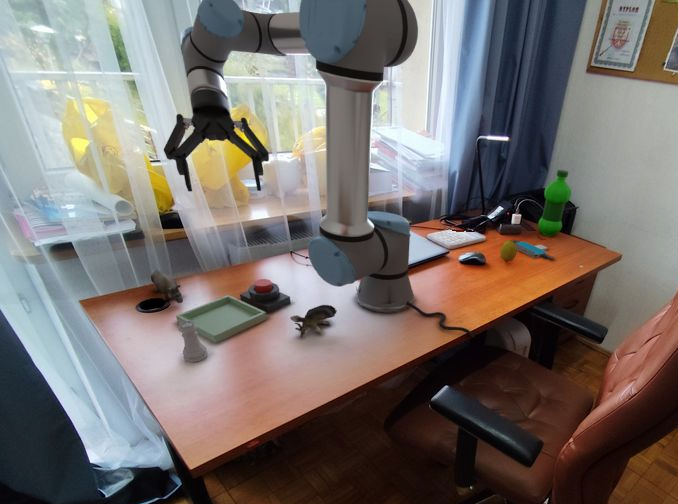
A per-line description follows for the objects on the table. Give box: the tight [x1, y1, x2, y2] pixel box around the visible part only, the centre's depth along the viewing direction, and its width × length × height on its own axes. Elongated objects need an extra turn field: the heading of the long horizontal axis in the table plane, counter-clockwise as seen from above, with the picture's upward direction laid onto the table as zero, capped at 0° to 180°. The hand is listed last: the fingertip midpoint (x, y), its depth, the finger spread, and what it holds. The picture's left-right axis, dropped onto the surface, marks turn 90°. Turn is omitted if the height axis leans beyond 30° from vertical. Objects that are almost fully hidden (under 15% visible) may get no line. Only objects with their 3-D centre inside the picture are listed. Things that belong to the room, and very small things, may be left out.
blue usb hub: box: [512, 239, 554, 261], centre depth 157 cm, size 20×12×2 cm, turn 38°
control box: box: [239, 282, 292, 314], centre depth 105 cm, size 10×7×4 cm
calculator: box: [426, 229, 487, 250], centre depth 158 cm, size 13×20×2 cm, turn 133°
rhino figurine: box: [150, 269, 184, 304], centre depth 101 cm, size 4×14×6 cm, turn 49°
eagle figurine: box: [290, 304, 338, 338], centre depth 96 cm, size 8×7×9 cm
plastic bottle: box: [537, 169, 572, 237], centre depth 168 cm, size 10×10×25 cm
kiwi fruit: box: [499, 240, 518, 264], centre depth 142 cm, size 6×6×8 cm
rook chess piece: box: [177, 320, 209, 363], centre depth 83 cm, size 4×4×8 cm
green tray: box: [175, 294, 268, 344], centre depth 97 cm, size 13×13×2 cm
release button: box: [253, 278, 273, 293], centre depth 103 cm, size 4×4×2 cm
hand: (225, 188), depth 90 cm, fingers open, 13 cm apart
